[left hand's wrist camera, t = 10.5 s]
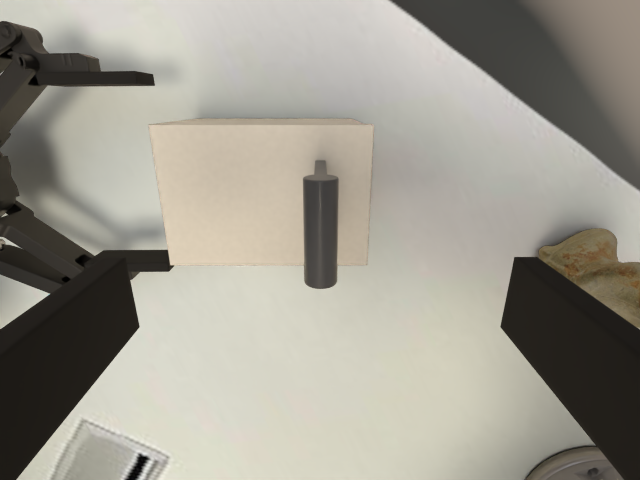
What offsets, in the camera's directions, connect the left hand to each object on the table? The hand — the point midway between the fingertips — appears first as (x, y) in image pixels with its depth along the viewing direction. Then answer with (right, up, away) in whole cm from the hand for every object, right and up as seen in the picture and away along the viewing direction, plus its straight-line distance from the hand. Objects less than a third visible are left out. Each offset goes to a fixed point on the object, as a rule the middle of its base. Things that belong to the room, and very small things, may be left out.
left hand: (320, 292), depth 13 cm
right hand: (-12, +7, +15) cm, 20 cm away
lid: (-4, +5, +13) cm, 15 cm away
